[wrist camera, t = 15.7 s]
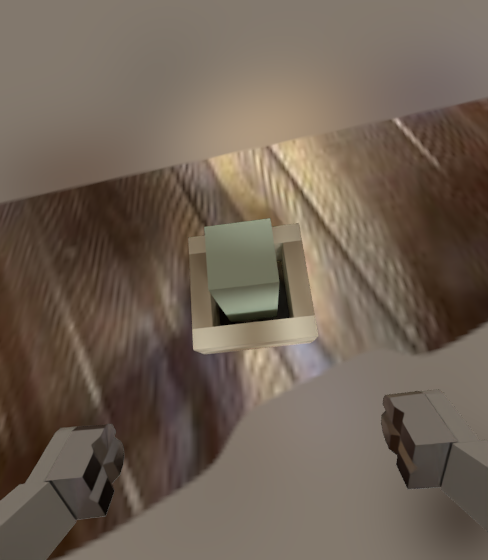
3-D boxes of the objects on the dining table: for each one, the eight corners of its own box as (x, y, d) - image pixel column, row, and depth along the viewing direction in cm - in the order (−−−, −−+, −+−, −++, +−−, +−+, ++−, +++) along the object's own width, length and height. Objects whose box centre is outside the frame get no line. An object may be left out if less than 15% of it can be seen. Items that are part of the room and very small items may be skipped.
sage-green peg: (230, 322, 27) (208, 290, 18) (227, 278, 28) (204, 226, 19) (276, 316, 27) (279, 281, 17) (271, 273, 28) (270, 218, 19)
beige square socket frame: (204, 354, 26) (193, 349, 22) (199, 256, 29) (188, 237, 25) (311, 342, 26) (318, 336, 22) (295, 244, 29) (298, 223, 25)
